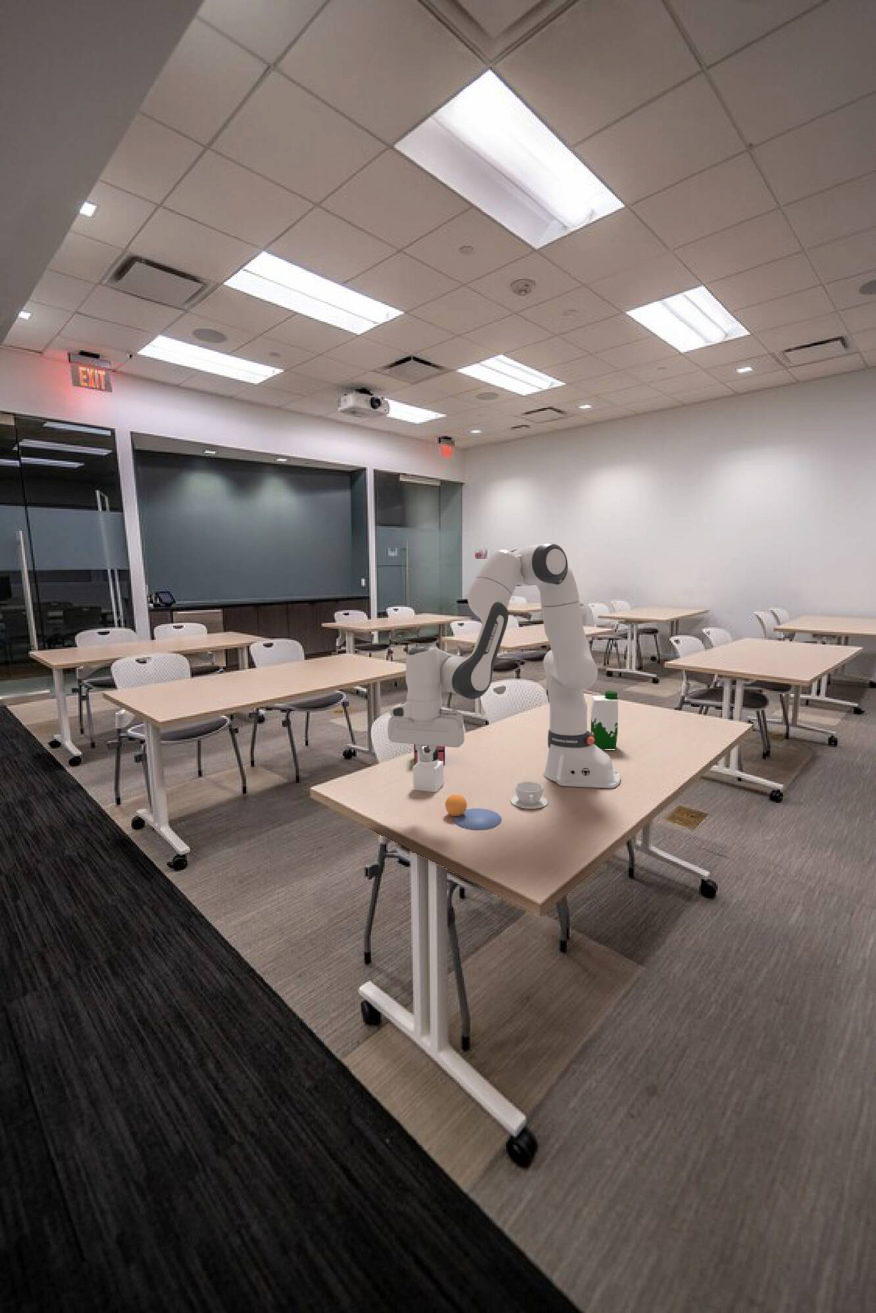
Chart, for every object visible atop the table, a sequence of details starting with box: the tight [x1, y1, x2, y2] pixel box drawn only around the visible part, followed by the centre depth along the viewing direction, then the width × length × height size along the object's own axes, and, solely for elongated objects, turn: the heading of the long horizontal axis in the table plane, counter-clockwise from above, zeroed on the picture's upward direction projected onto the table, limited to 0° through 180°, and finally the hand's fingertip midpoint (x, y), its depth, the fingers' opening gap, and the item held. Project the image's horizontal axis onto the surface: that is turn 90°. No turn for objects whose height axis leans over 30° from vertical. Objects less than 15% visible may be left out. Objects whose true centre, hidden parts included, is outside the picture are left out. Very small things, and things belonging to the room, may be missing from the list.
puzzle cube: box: [413, 744, 446, 766], centre depth 183 cm, size 10×10×10 cm
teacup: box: [510, 780, 549, 810], centre depth 148 cm, size 10×10×5 cm
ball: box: [444, 793, 468, 817], centre depth 140 cm, size 6×6×6 cm
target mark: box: [453, 808, 502, 831], centre depth 138 cm, size 12×12×1 cm
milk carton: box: [590, 690, 619, 749], centre depth 192 cm, size 9×9×20 cm
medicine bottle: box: [412, 746, 445, 793], centre depth 159 cm, size 7×7×12 cm
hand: (426, 760), depth 141 cm, fingers closed
